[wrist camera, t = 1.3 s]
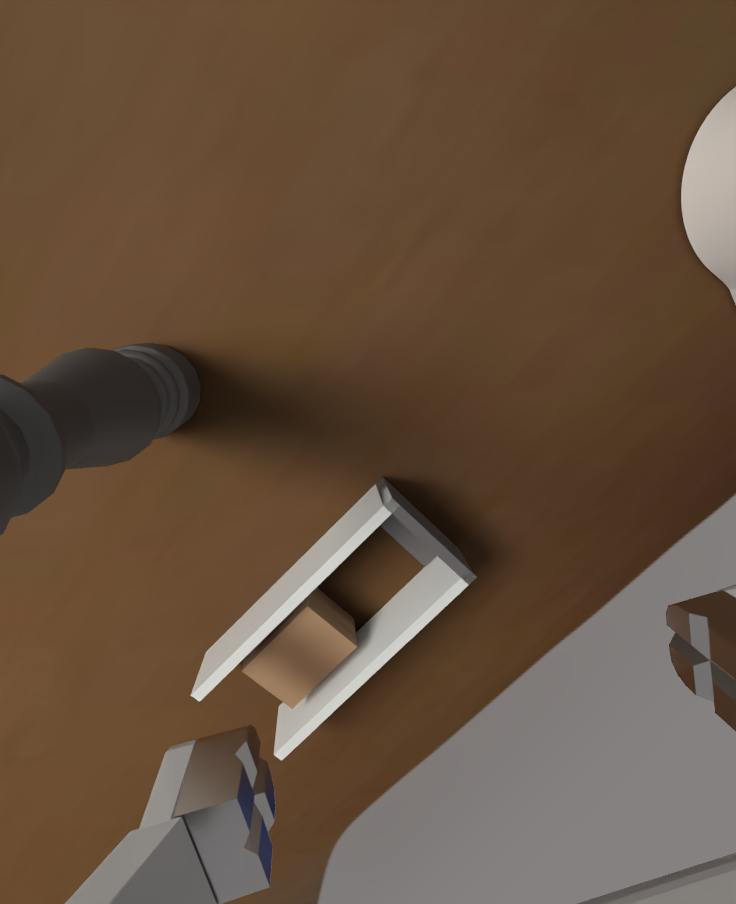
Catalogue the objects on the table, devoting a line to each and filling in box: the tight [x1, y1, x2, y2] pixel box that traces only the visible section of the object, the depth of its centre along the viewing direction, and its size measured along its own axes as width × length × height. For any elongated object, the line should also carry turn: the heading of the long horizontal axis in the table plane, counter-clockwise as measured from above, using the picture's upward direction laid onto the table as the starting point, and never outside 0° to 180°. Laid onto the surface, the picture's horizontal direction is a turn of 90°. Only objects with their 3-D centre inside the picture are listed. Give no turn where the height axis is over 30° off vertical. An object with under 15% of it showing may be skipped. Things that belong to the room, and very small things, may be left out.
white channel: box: [191, 477, 477, 760], centre depth 38 cm, size 20×9×5 cm, turn 135°
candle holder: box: [0, 343, 201, 535], centre depth 23 cm, size 6×6×25 cm
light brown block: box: [242, 587, 357, 709], centre depth 39 cm, size 7×5×4 cm
